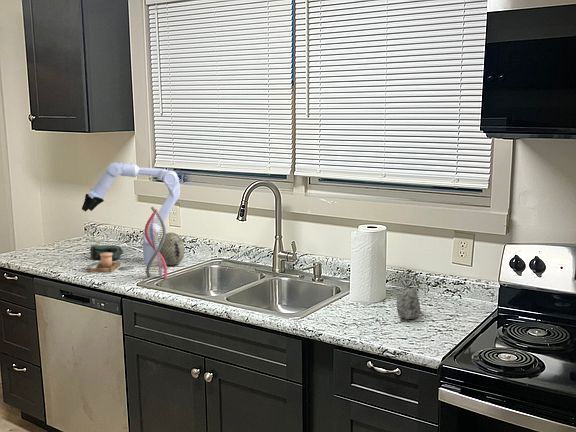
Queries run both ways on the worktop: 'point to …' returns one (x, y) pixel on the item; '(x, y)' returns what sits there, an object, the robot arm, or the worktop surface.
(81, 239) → the worktop surface
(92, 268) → the cold frame
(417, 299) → the rock
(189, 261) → the worktop surface
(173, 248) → the decorative egg
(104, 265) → the pot
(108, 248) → the sculpture
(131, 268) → the coaster
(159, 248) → the dna model
